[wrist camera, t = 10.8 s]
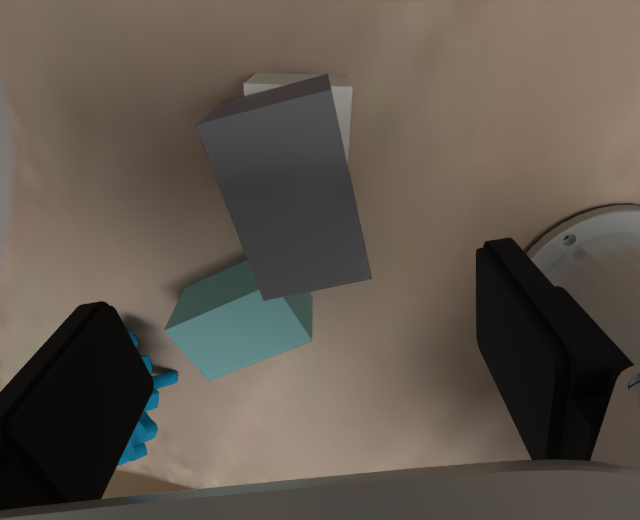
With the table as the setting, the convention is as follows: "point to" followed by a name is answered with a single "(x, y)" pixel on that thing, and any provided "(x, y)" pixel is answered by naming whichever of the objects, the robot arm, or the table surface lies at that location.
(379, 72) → the table surface
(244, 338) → the teal block
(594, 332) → the robot arm
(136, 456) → the gear
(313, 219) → the charcoal block
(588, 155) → the table surface
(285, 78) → the cream block
